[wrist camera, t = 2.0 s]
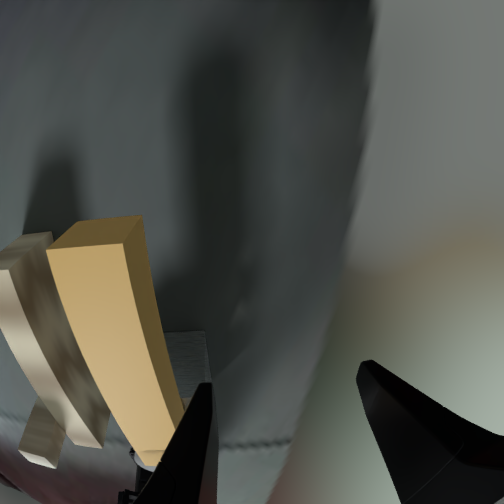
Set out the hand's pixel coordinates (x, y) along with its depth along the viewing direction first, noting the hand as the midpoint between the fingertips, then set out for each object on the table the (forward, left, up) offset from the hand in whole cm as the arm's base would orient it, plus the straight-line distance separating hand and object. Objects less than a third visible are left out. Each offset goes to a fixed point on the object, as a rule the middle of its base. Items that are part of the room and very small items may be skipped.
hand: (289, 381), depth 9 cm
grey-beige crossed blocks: (-7, +17, -12) cm, 22 cm away
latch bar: (-4, +7, -5) cm, 9 cm away
